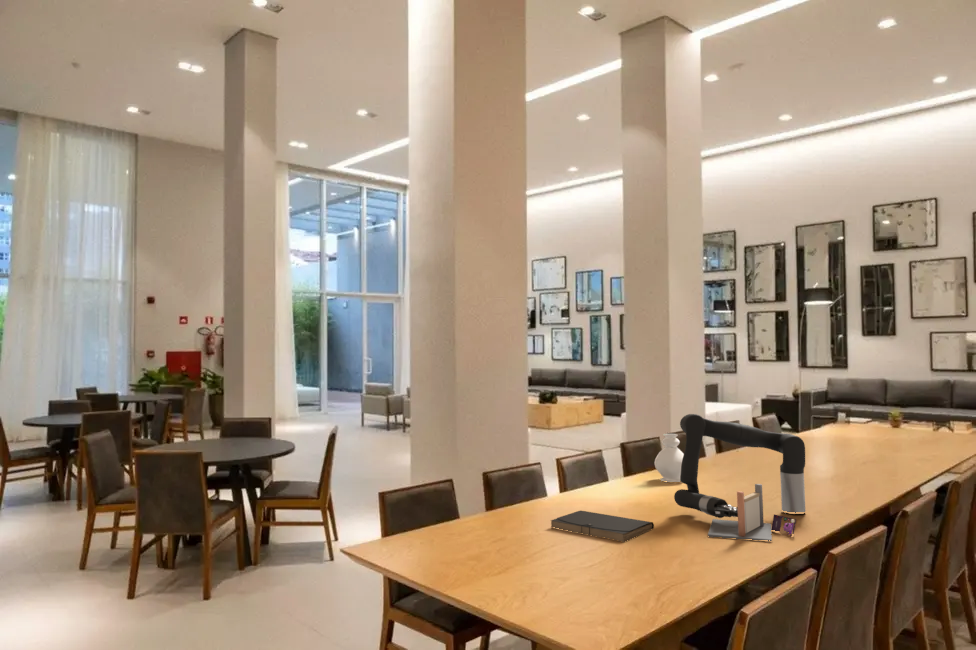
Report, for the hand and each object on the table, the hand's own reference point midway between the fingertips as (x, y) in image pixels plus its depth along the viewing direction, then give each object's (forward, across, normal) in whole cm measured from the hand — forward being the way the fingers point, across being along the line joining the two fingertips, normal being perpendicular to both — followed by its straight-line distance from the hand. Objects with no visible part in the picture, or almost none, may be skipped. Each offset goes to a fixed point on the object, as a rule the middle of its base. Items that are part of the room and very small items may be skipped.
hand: (744, 515), depth 246 cm
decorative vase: (-98, +41, +7) cm, 107 cm away
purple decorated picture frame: (+5, +14, +7) cm, 17 cm away
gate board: (-4, +1, +7) cm, 8 cm away
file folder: (-30, -44, +8) cm, 54 cm away
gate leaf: (0, +3, +6) cm, 6 cm away
